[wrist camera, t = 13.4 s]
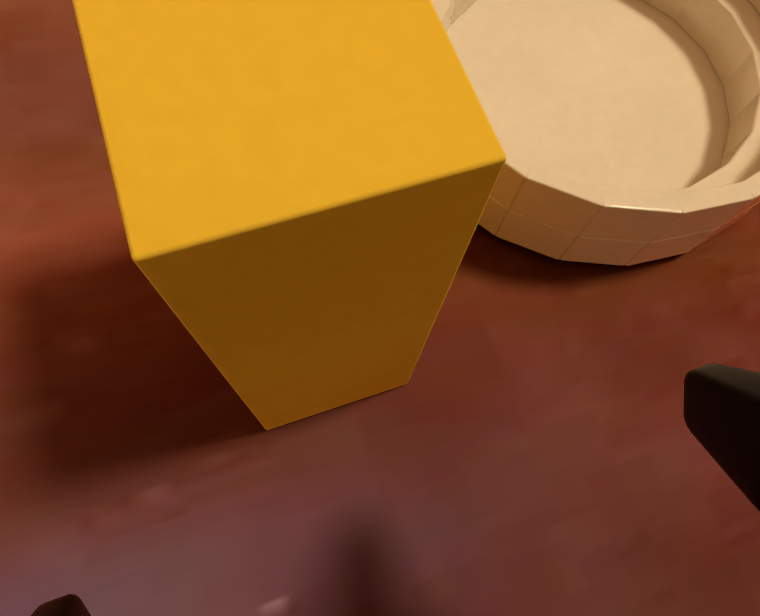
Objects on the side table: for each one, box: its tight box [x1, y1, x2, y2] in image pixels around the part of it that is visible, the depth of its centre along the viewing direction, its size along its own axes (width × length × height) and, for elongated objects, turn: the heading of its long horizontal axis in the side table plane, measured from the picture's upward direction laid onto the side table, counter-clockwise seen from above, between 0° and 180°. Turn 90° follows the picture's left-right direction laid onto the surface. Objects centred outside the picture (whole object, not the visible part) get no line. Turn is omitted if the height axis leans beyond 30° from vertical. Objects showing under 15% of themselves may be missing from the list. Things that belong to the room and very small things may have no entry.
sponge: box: [72, 0, 506, 430], centre depth 14 cm, size 7×4×12 cm, turn 19°
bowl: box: [431, 0, 760, 266], centre depth 21 cm, size 14×14×4 cm
